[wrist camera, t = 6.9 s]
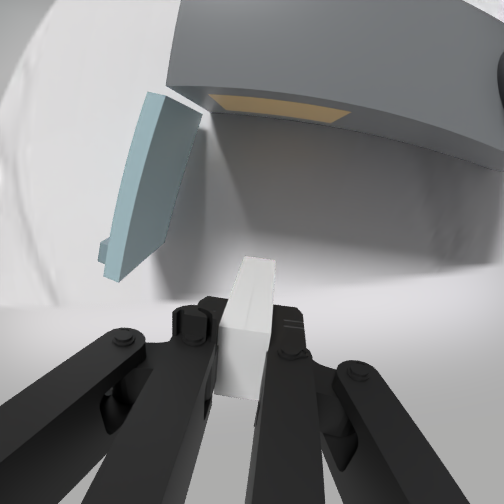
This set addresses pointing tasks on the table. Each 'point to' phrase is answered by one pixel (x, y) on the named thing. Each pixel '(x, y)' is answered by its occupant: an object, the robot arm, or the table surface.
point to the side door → (149, 183)
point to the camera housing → (351, 68)
